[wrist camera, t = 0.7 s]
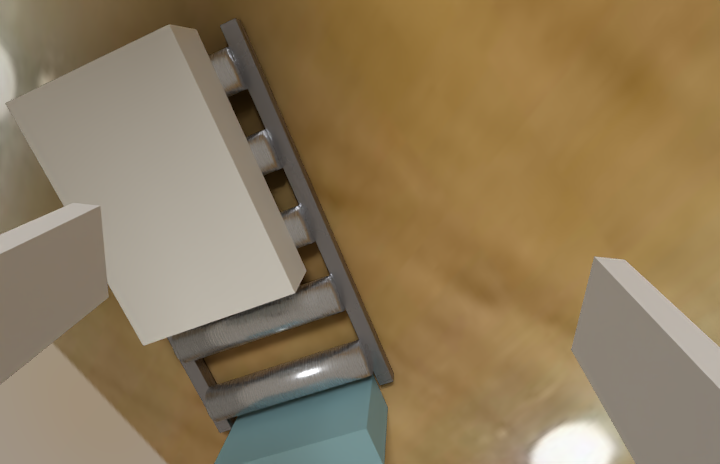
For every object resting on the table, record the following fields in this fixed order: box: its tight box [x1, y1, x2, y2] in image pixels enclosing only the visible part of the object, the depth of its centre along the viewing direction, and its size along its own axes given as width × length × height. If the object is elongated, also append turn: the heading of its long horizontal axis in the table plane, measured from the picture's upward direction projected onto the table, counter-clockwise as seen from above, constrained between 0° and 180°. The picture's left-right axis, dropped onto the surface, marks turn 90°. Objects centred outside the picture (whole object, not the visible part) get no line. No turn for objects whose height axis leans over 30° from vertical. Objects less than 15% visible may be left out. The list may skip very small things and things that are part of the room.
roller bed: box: [167, 18, 394, 433], centre depth 40 cm, size 16×30×3 cm, turn 22°
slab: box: [5, 24, 306, 346], centre depth 35 cm, size 18×12×4 cm, turn 22°
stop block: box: [214, 374, 388, 464], centre depth 42 cm, size 4×13×7 cm, turn 112°
